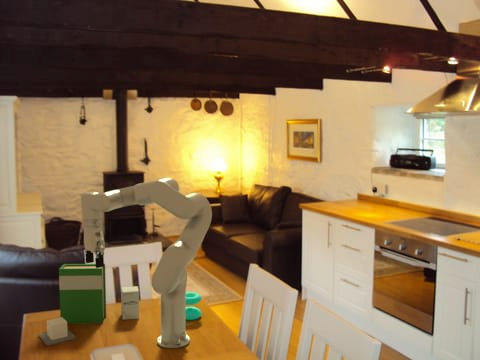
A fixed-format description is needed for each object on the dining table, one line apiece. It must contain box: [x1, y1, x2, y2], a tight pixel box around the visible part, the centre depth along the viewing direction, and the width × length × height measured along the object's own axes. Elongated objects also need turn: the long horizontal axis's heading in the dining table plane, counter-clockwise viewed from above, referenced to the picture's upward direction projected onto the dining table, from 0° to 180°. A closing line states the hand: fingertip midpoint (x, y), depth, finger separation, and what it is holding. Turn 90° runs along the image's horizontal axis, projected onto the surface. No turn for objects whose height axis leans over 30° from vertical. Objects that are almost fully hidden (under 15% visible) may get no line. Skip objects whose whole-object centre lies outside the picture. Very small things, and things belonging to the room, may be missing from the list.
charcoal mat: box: [38, 328, 77, 347], centre depth 199 cm, size 11×11×1 cm
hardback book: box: [58, 263, 107, 325], centre depth 216 cm, size 18×7×24 cm, turn 94°
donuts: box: [185, 291, 202, 321], centre depth 222 cm, size 10×10×10 cm
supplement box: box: [120, 285, 140, 321], centre depth 221 cm, size 7×7×13 cm
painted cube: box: [46, 316, 68, 340], centre depth 199 cm, size 6×6×6 cm
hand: (94, 264), depth 202 cm, fingers open, 9 cm apart
